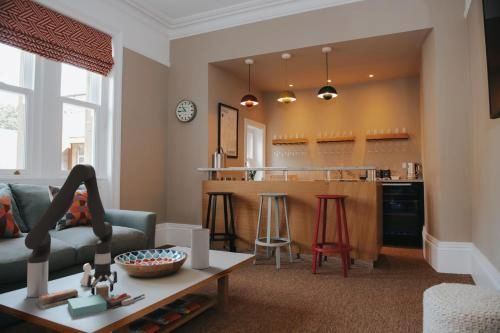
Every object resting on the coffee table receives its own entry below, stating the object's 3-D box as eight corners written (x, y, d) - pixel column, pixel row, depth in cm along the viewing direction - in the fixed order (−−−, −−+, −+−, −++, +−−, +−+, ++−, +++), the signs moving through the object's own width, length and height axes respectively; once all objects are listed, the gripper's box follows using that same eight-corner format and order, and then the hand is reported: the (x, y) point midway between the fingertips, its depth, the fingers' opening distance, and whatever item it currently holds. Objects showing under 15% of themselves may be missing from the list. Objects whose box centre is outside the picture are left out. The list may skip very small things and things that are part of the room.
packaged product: (43, 299, 163) (35, 294, 170) (43, 310, 163) (35, 304, 169) (82, 290, 176) (74, 285, 183) (82, 299, 176) (74, 295, 183)
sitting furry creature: (95, 286, 196) (95, 264, 196) (78, 287, 193) (78, 266, 194) (97, 281, 205) (97, 260, 205) (81, 282, 202) (81, 261, 203)
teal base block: (67, 308, 165) (67, 299, 166) (99, 302, 174) (99, 293, 174) (72, 318, 154) (73, 308, 154) (106, 311, 162) (106, 302, 162)
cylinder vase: (187, 266, 239) (187, 229, 240) (202, 263, 247) (203, 228, 248) (196, 270, 230) (197, 232, 230) (212, 267, 238) (212, 230, 238)
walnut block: (95, 295, 182) (96, 285, 182) (106, 293, 184) (106, 284, 185) (98, 298, 178) (98, 288, 178) (108, 296, 180) (108, 286, 181)
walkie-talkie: (113, 311, 162) (145, 298, 179) (113, 301, 162) (146, 289, 179) (100, 307, 166) (134, 294, 184) (100, 298, 166) (134, 286, 184)
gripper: (115, 258, 189) (114, 288, 188) (86, 262, 180) (85, 293, 180) (118, 261, 183) (118, 292, 182) (89, 265, 174) (88, 298, 174)
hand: (102, 293), depth 181 cm, fingers open, 8 cm apart
